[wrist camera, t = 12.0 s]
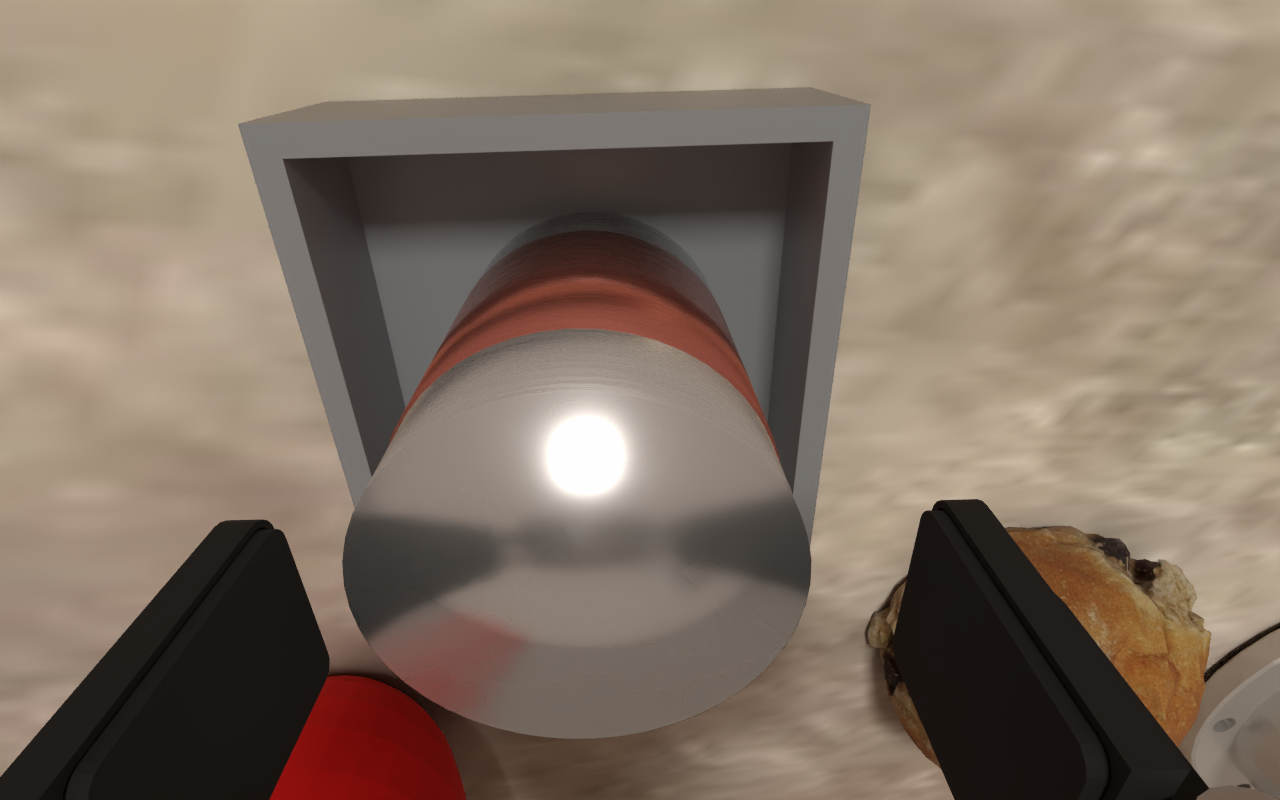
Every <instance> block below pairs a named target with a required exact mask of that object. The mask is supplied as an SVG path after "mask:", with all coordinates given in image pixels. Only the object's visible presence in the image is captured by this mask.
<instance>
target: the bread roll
mask: <svg viewBox="0 0 1280 800" xmlns="http://www.w3.org/2000/svg"><path fill="white" fill-rule="evenodd" d="M1005 529H1006V531H1007V532H1008V533H1009V535H1010V536H1011V537H1012V539H1013V540H1014V541H1015V542H1016V544H1017V545H1018V546H1019V548H1020V549H1021V550H1022V551H1023V553H1024V554H1025V555H1026V557H1027V558H1028V559H1029V561H1030V562H1031V563H1032V564H1033V566H1034V567H1035V568H1036V570H1037V571H1038V572H1039V573H1040V575H1041V576H1042V577H1043V579H1044V580H1045V581H1046V583H1047V584H1048V585H1049V586H1050V588H1051V589H1052V590H1053V592H1054V593H1055V594H1056V595H1057V596H1058V597H1059V598H1060V599H1061V600H1062V601H1063V602H1064V603H1065V604H1066V605H1067V606H1068V607H1069V609H1070V610H1071V611H1072V612H1073V614H1074V615H1075V616H1076V618H1077V619H1078V620H1079V621H1080V623H1081V624H1082V625H1083V627H1084V628H1085V629H1086V630H1087V632H1088V633H1089V634H1090V636H1091V637H1092V638H1093V639H1094V641H1095V642H1096V643H1097V645H1098V646H1099V647H1100V648H1101V650H1102V651H1103V652H1104V654H1105V655H1106V656H1107V657H1108V659H1109V660H1110V661H1111V663H1112V664H1113V665H1114V666H1115V668H1116V669H1117V670H1118V672H1119V673H1120V674H1121V675H1122V677H1123V678H1124V679H1125V681H1126V682H1127V683H1128V684H1129V686H1130V687H1131V688H1132V690H1133V691H1134V692H1135V693H1136V695H1137V696H1138V697H1139V699H1140V700H1141V701H1142V702H1143V704H1144V705H1145V706H1146V708H1147V709H1148V710H1149V711H1150V713H1151V714H1152V715H1153V717H1154V718H1155V719H1156V720H1157V722H1158V723H1159V724H1160V726H1161V727H1162V728H1163V729H1164V731H1165V732H1166V733H1167V734H1168V736H1169V737H1170V738H1171V740H1172V741H1173V742H1174V743H1175V745H1176V746H1177V747H1178V748H1179V746H1180V745H1181V743H1182V741H1183V739H1184V738H1185V736H1186V735H1187V733H1188V732H1189V731H1190V729H1191V727H1192V726H1193V724H1194V722H1195V721H1196V719H1197V716H1198V713H1199V709H1200V706H1201V700H1202V696H1203V693H1204V690H1205V687H1206V686H1205V682H1204V678H1203V676H1204V673H1205V670H1206V666H1207V661H1208V655H1209V648H1210V647H1209V644H1210V639H1211V632H1210V631H1207V630H1205V629H1204V628H1203V623H1204V619H1203V618H1202V617H1200V616H1199V615H1197V614H1195V613H1193V612H1191V609H1192V607H1193V605H1194V603H1195V601H1196V599H1197V598H1196V594H1195V591H1194V587H1193V584H1191V583H1190V582H1189V581H1188V580H1187V578H1186V577H1185V575H1184V574H1183V572H1182V569H1181V568H1179V567H1178V566H1177V565H1171V564H1170V563H1168V562H1167V561H1166V560H1159V559H1158V560H1159V562H1151V561H1148V560H1146V559H1143V560H1134V559H1131V558H1130V553H1129V551H1128V549H1127V547H1126V545H1125V544H1124V543H1123V542H1122V541H1121V540H1120V539H1116V538H1104V537H1102V536H1100V535H1098V534H1085V533H1083V532H1081V531H1079V530H1077V529H1075V528H1073V527H1071V526H1060V527H1047V528H1041V529H1036V528H1029V529H1026V528H1016V527H1008V528H1005ZM905 584H906V581H905V582H904V583H903V584H902V585H901V586H900V587H899V588H898V589H897V591H896V592H895V593H894V595H893V597H892V600H891V602H890V606H889V607H887V608H885V609H884V610H882V611H881V612H874V614H873V617H872V619H871V622H870V626H869V628H868V639H869V644H870V646H871V647H878V648H880V655H881V659H882V663H883V669H884V674H885V680H886V688H887V691H888V695H889V699H890V701H891V703H892V706H893V708H894V710H895V712H896V715H897V717H898V719H899V721H900V723H901V724H902V726H903V727H904V729H905V730H906V732H907V733H908V735H909V736H910V738H911V739H912V740H913V742H914V743H915V744H916V745H917V747H918V748H919V749H920V750H921V752H922V753H923V754H924V755H925V756H926V757H927V758H928V759H929V760H931V761H932V762H933V763H935V764H936V765H937V766H938V767H940V764H939V762H938V760H937V757H936V755H935V753H934V750H933V748H932V746H931V744H930V741H929V739H928V737H927V734H926V732H925V730H924V727H923V725H922V723H921V720H920V718H919V716H918V713H917V711H916V709H915V706H914V704H913V702H912V699H911V697H910V695H909V692H908V690H907V688H906V685H905V683H904V681H903V678H902V676H901V674H900V671H899V669H898V667H897V664H896V661H895V657H894V652H893V637H894V632H895V628H896V624H897V619H898V615H899V611H900V606H901V602H902V597H903V593H904V589H905ZM940 768H941V767H940ZM941 770H942V769H941Z"/></svg>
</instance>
